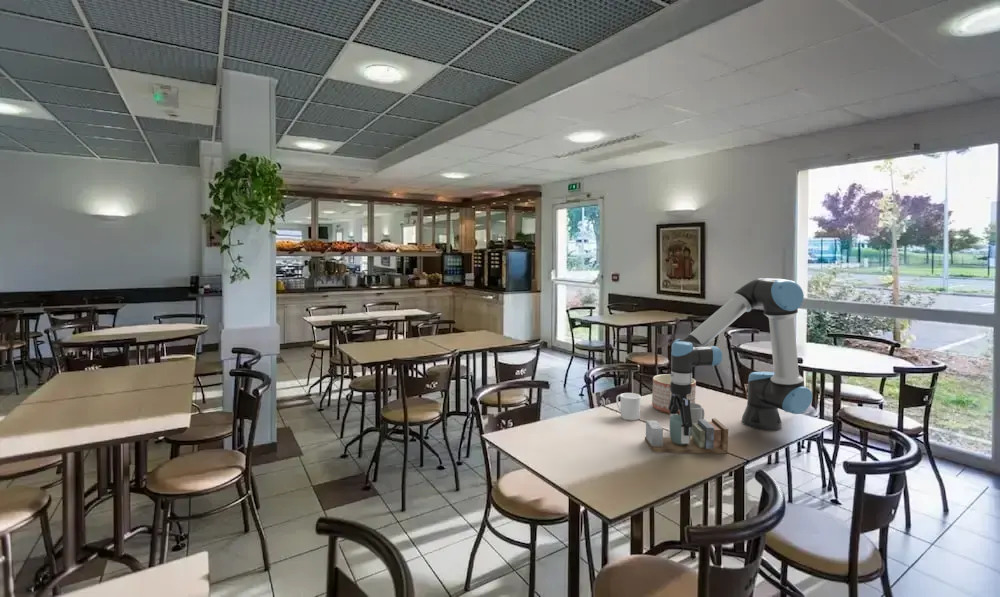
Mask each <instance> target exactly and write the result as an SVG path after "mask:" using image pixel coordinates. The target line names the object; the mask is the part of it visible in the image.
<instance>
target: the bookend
mask: <svg viewBox="0 0 1000 597" xmlns="http://www.w3.org/2000/svg"><path fill="white" fill-rule="evenodd" d="M645 422H646V423H645V437H646V439H647V440H648V442H649V443H650V445H651V446H652V447H663V437H664V428H663V427H662V425H661V424H660V423H659V422H658V421H657V420H650V419H649V420H646V421H645Z"/></svg>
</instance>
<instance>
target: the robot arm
mask: <svg viewBox="0 0 1000 597" xmlns="http://www.w3.org/2000/svg"><path fill="white" fill-rule="evenodd" d="M804 295H805V294H804V290H803V289H802V287H801V286H800V285H799V283H797V282H796V281H794V280H791V279H784V278H770V277H769V278H768V277H760V278H756V279H752V280H751V281H749V282H747V283H745V284H744V285H743V286H741V287H740V288H739V289H737V290H736V291H735V292H733V293H732V294H731V298H730V300H728V301H726V303H724V304H723V305H722V306H721V307H720V308H718V309H717V310H716V311H715V312H713V314H711V315H710V316H709V317H708V318H707V319H705V320H704V321H703V322H702V323H701V324H700V325H698V326H697V327H696V328H695V329H694V330H693V331H692V332H690V333H689V334H688V335H687V336H685V337H684V338H677V339H675V340H674V341H673V342H672V344H671V351H670V352H671V353H670V354H671V355H670V356H671V357H670V358H671V360H670V364H671V365H670V368H671V369H670V373H669V374H670V376H671V381H672V382H671V385H670V391H671V392H672V395H671V400H670V404H669V410H670V413H671V414H669V415H670V416H672V415H678V414H676V413H679V412H678V409H679V410H680V414H681V419H682V424H683V425H681V427H682V429H681V443H684V444H689V431H690V427H692V419H691V411H690V400H687V398H686V395H688V394H690V393H691V382H692V378H693V368H694V367H696V368H697V367H713V366H718V365H720V364H721V363H722V362H723V352H722V350H721V348H720V347H718V346H717V345H708V344H709V343H710V342H712V341H713V340H714V339H715V338H716V337H717V336H718V335H719V334H721V333H722V332H723V331H724V330H726V329H727V328H728V327H729V326H731V325H732V324H733V323H734V322H735V321H736V320H737V319H738V318H740V317H741V316H742V315H743V314H744V313H746V312H747V313H749V312H751V311H752V310H754V309H755V308H757V307H758V308H759V307H762V308H763V315H764V316H766V317H767V318H768V321H769V322H768V324H769V332H770V333H769V335H770V345H771V356H772V363H773V364H772V365H773V366H772V367H773V371H772V372H771V371H752V372H749V375H748V380H747V403H746V406H745V409H744V411H743V414H742V417H741V423H742V424H743V425H745V426H746V427H749V428H752V429H755V430H762V431H778V430H781V429H782V420H781V416H780V413H779V410H782V411H784V412H786V413H789V414H792V415H801V414H803V413H804V412H806V411H807V410H808V408H809V407H810V406H811V404H812V402H813V392H812V390H811V389H809V388H808V387H806V386H805V379H804V377H803V376H802V375H801V374H800V372H799V370H800V369H799V363H798V362H799V361H798V351H797V340H796V339H797V338H796V329H795V328H796V327H795V326H796V325H795V318H794V317H795V316H796V315H797V314H798V313H799V312H798V309H800V308H801V306H802V303H803V302H804V300H805V298H804ZM778 409H779V410H778ZM670 416H669V417H670ZM687 423H688V424H687Z"/></svg>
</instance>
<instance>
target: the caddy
mask: <svg viewBox="0 0 1000 597" xmlns="http://www.w3.org/2000/svg"><path fill="white" fill-rule="evenodd" d="M644 441H645V442H646V444H647V445H648V447H649V449H650V450H651V451H652V452H651V453H684V454H687V453H691V454H692V453H693V454H697V453H698V454H700V453H701V454H728V450H729V428H728V427H727V426H725V425H724V424H723V423H722V422H721V421H719V420H718V419H717V418H715V417H714V418H711V421H707V420H706V419H705V418H704V419H698V424H697V423H693V426H692V434H691V437H690V440H689V444H685V445H678V444H675V443H673V442H672V441H671V439H670V436H663V447H652V446H651V445H650V443H649V442H648V440H647V439H646V436H644Z"/></svg>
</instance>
